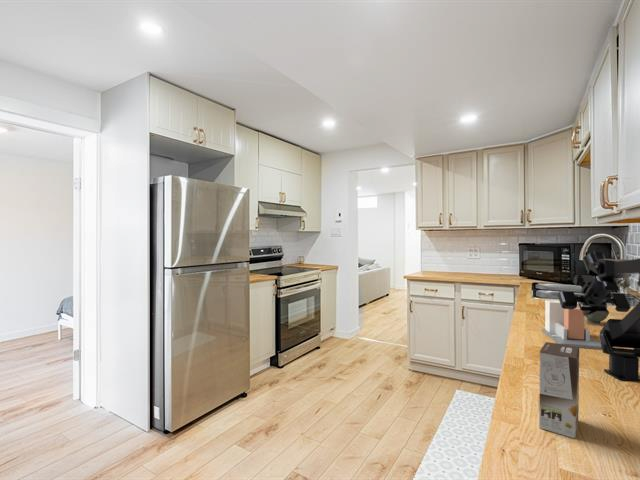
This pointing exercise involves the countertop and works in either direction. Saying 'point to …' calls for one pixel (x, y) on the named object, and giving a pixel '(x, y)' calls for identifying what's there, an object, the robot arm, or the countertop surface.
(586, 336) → the test rig
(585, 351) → the countertop surface
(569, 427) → the coffee box
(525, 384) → the countertop surface
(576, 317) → the plug
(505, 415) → the countertop surface
